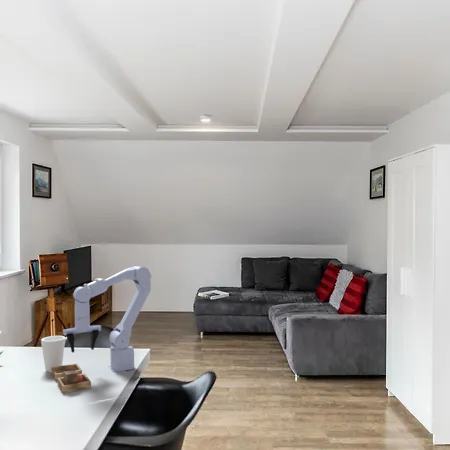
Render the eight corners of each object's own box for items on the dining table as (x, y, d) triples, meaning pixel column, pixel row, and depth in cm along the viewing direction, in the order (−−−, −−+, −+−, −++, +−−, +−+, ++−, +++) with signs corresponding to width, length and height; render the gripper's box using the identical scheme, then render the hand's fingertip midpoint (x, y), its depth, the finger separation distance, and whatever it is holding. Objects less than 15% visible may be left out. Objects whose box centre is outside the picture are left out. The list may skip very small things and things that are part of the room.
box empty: (76, 370, 187) (76, 363, 187) (82, 377, 179) (81, 370, 179) (51, 374, 183) (51, 367, 183) (55, 382, 174) (55, 374, 174)
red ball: (82, 381, 173) (82, 372, 173) (84, 384, 170) (84, 375, 170) (72, 383, 171) (72, 374, 171) (74, 386, 168) (74, 376, 168)
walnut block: (74, 385, 168) (74, 369, 168) (77, 388, 165) (77, 372, 165) (63, 387, 166) (63, 371, 166) (66, 391, 163) (66, 374, 163)
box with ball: (84, 381, 174) (84, 373, 174) (90, 389, 166) (90, 381, 166) (57, 386, 169) (57, 378, 169) (62, 394, 161) (62, 386, 161)
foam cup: (57, 373, 184) (56, 341, 184) (37, 372, 186) (36, 340, 186) (69, 366, 193) (69, 336, 193) (50, 365, 195) (50, 335, 195)
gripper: (97, 313, 189) (98, 345, 189) (61, 317, 182) (62, 350, 182) (102, 316, 183) (102, 349, 183) (64, 320, 176) (65, 355, 176)
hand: (82, 350), depth 182 cm, fingers open, 7 cm apart
